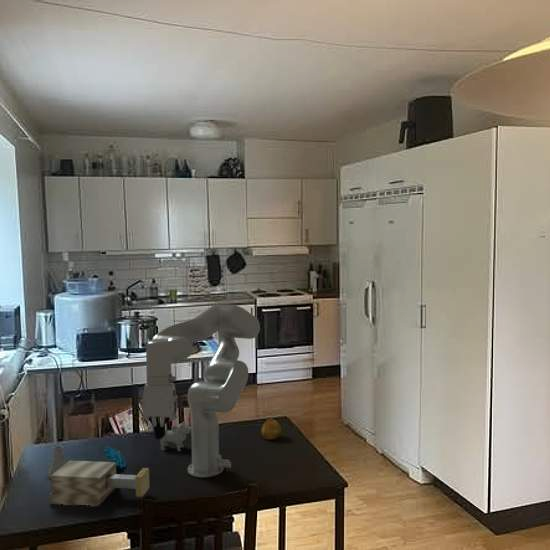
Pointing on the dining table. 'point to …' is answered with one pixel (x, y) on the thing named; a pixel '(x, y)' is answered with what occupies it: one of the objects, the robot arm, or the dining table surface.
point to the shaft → (130, 481)
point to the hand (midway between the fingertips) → (159, 437)
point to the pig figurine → (175, 436)
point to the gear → (115, 456)
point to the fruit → (271, 429)
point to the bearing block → (81, 483)
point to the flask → (56, 460)
